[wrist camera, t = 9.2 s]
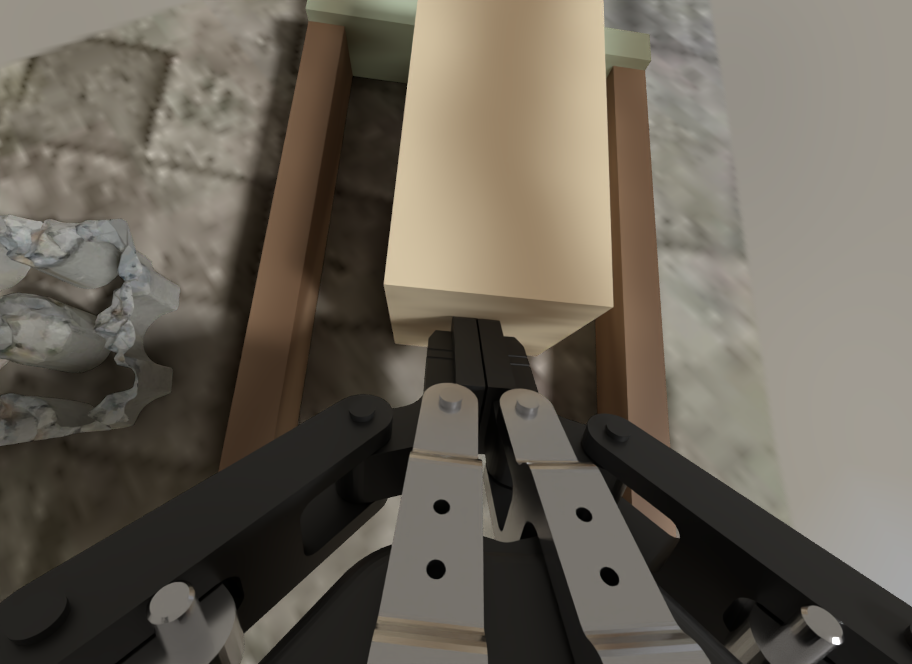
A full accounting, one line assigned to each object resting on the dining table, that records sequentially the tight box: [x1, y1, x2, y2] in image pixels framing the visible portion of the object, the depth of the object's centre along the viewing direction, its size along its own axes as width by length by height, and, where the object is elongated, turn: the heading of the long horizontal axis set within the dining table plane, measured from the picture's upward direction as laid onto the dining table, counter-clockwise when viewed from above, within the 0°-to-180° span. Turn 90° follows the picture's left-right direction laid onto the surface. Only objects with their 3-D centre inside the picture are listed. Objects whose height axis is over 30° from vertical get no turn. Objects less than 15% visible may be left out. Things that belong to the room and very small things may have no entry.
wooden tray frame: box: [218, 0, 676, 538], centre depth 17 cm, size 15×22×3 cm
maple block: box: [384, 0, 613, 356], centre depth 15 cm, size 6×12×7 cm, turn 176°
